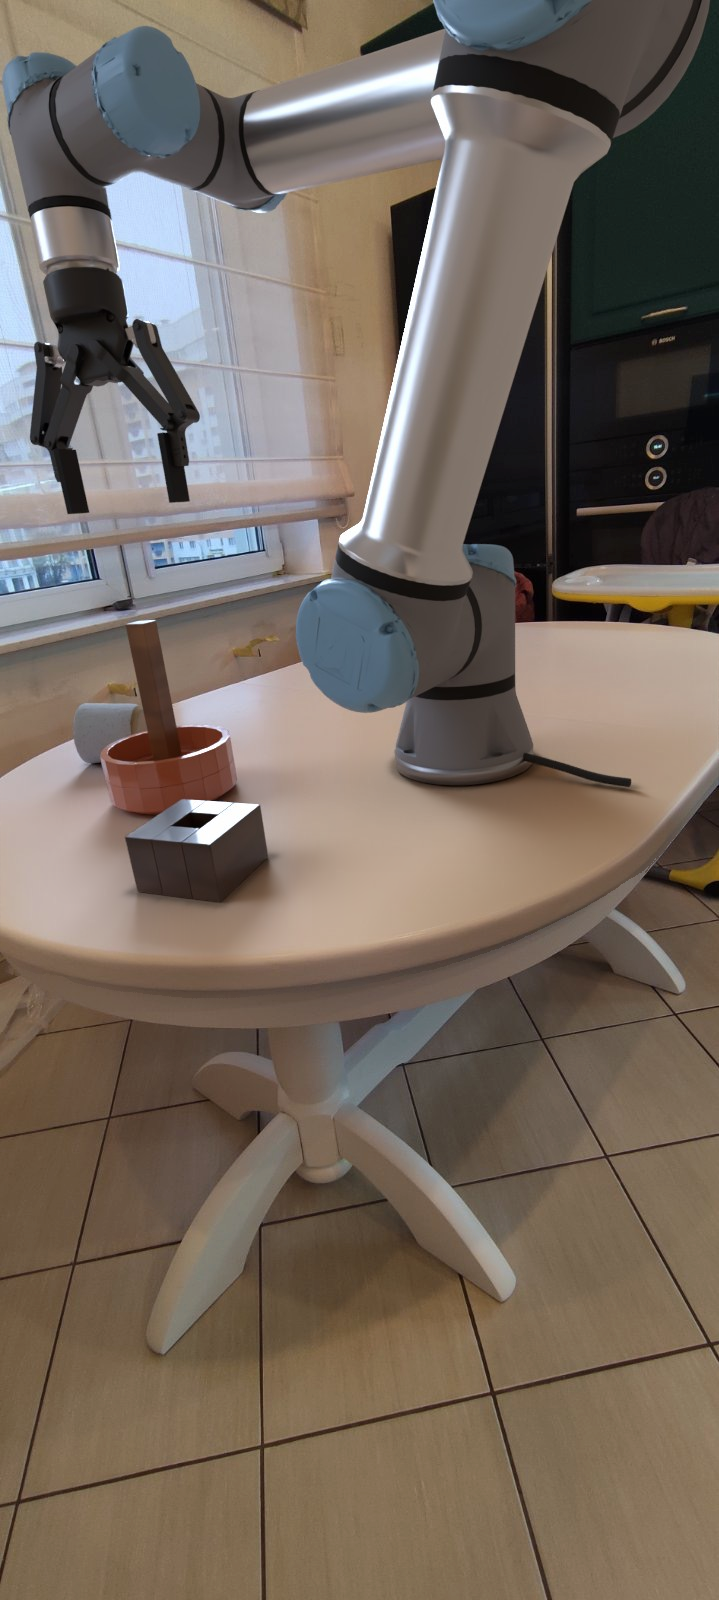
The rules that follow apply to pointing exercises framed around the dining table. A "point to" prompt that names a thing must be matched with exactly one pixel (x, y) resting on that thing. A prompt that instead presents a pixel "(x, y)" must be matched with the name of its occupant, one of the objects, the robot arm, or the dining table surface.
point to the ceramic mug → (104, 727)
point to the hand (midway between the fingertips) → (127, 508)
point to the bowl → (169, 770)
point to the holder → (198, 849)
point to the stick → (154, 689)
